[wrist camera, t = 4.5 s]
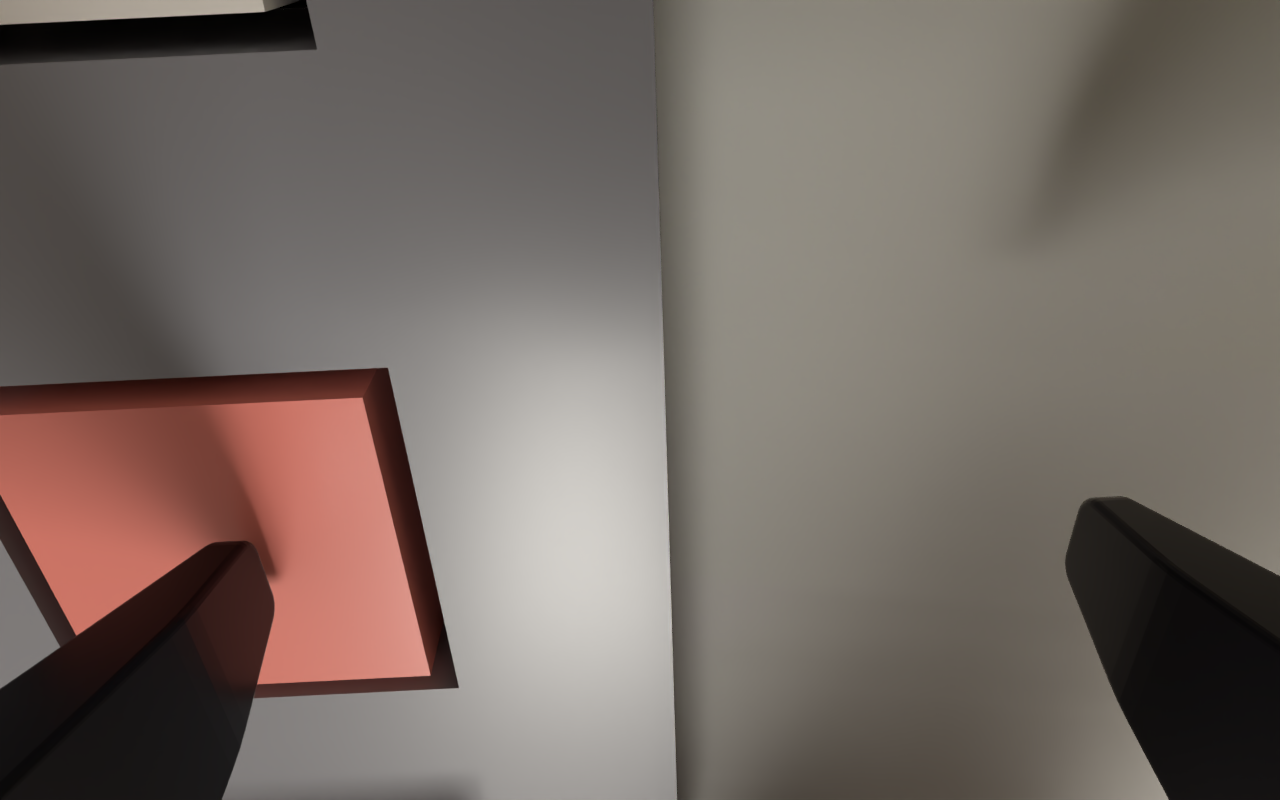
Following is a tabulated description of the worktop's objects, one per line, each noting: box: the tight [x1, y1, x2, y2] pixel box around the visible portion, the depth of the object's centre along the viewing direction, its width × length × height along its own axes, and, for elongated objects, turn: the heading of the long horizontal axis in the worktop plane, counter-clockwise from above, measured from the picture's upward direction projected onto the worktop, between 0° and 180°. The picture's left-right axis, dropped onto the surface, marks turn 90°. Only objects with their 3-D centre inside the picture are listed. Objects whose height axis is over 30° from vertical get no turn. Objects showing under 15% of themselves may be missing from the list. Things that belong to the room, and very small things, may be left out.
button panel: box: [0, 0, 677, 800], centre depth 11 cm, size 24×10×4 cm, turn 2°
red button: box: [0, 368, 444, 684], centre depth 11 cm, size 4×4×3 cm
